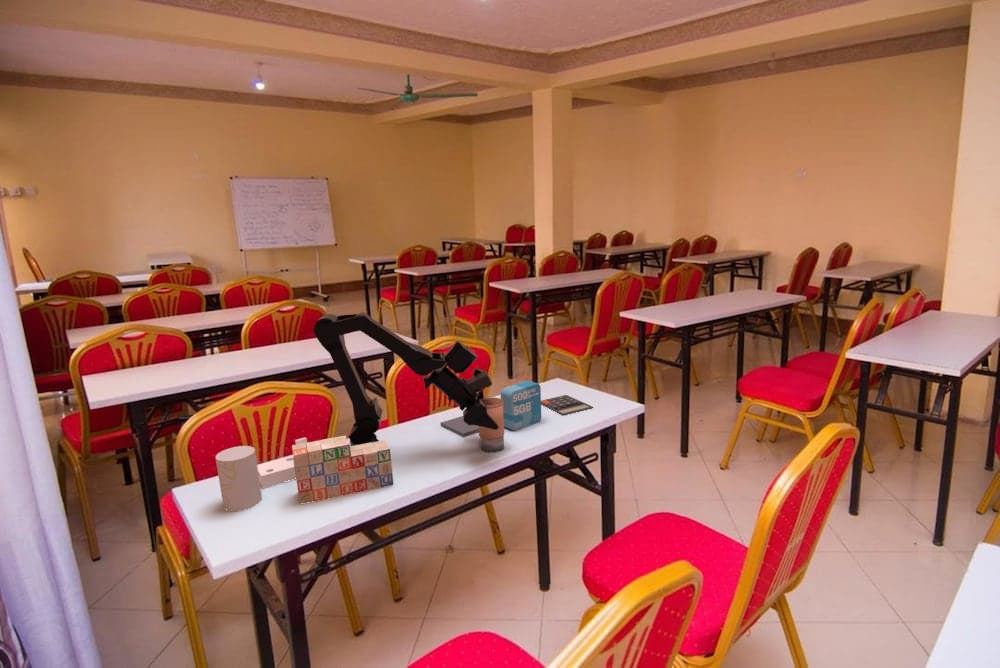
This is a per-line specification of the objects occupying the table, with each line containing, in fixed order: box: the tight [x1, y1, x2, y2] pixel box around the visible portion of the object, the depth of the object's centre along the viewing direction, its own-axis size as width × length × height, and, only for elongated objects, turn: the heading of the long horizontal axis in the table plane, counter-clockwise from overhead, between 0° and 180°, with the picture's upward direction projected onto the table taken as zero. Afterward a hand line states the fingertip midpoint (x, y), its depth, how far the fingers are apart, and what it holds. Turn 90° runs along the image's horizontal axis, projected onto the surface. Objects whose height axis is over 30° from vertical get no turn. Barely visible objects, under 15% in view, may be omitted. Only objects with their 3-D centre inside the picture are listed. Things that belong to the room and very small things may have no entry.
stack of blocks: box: [291, 435, 394, 505], centre depth 138 cm, size 21×6×12 cm, turn 111°
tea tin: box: [479, 434, 505, 454], centre depth 158 cm, size 6×6×4 cm
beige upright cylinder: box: [215, 445, 263, 512], centre depth 134 cm, size 8×8×12 cm
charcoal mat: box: [440, 415, 479, 438], centre depth 175 cm, size 12×12×1 cm
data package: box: [500, 380, 542, 432], centre depth 173 cm, size 12×4×12 cm, turn 131°
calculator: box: [541, 394, 594, 417], centre depth 189 cm, size 12×1×15 cm
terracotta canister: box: [478, 397, 505, 439], centre depth 157 cm, size 7×7×9 cm
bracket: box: [257, 437, 308, 489], centre depth 147 cm, size 13×7×8 cm, turn 124°
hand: (496, 422), depth 157 cm, fingers open, 9 cm apart
